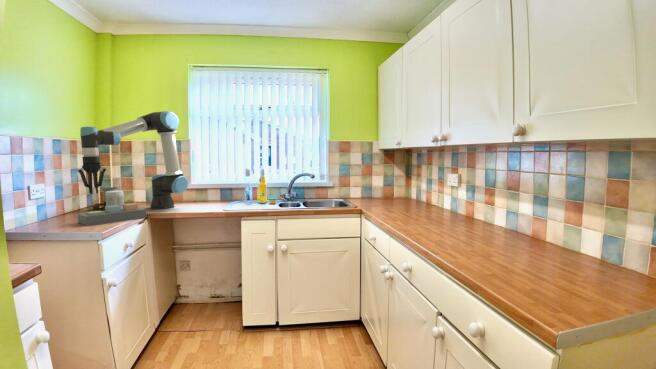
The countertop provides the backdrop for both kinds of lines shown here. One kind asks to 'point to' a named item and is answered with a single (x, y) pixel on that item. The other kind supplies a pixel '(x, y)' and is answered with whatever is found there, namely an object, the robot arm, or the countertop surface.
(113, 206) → the slate button
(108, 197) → the supplement tub
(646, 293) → the countertop surface
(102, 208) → the milk frother
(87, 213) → the green button
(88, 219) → the console
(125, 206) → the terracotta button
